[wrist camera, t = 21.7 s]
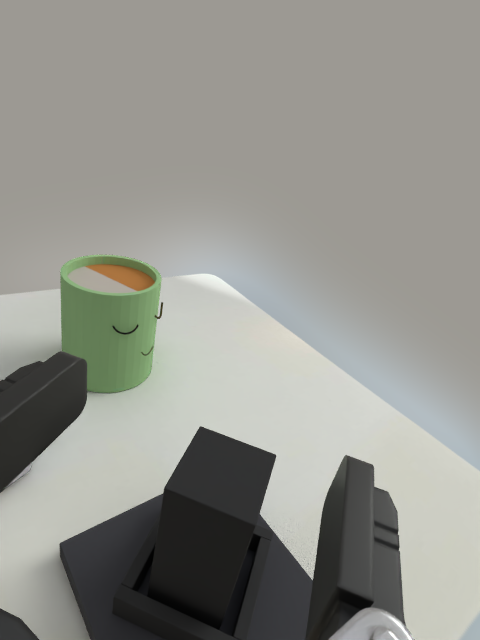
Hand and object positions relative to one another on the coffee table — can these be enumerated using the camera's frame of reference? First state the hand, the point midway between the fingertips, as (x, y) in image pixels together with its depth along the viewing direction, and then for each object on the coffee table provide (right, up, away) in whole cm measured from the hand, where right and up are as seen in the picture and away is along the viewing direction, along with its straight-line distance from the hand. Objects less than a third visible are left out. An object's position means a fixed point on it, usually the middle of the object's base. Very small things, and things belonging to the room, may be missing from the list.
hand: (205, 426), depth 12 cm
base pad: (-2, -16, +17) cm, 23 cm away
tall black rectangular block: (-2, -15, +16) cm, 22 cm away
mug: (-14, -2, +37) cm, 40 cm away
